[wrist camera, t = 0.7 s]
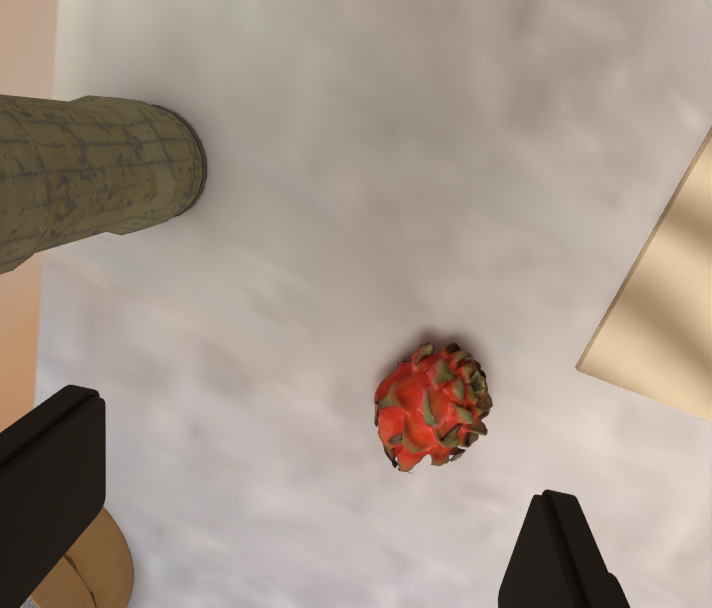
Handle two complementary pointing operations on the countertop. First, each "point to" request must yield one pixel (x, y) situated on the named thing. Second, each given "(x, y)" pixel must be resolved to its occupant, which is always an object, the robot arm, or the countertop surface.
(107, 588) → the steamer basket
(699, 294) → the maple board
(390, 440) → the dragon fruit
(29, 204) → the thermos
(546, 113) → the countertop surface
